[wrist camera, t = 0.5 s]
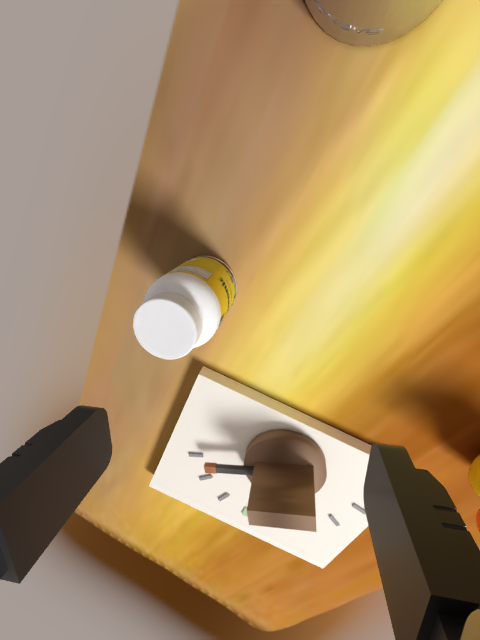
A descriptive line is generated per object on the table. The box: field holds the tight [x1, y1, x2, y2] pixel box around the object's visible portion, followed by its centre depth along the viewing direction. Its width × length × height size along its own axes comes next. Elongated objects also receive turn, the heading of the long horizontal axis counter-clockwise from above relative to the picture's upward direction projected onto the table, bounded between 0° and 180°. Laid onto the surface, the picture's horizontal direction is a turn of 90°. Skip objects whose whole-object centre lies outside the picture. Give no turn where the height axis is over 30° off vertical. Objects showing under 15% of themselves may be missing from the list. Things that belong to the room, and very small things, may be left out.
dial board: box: [149, 366, 372, 568], centre depth 33 cm, size 18×23×2 cm
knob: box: [204, 429, 327, 532], centre depth 28 cm, size 12×8×6 cm, turn 96°
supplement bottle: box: [133, 256, 237, 359], centre depth 22 cm, size 5×5×10 cm
